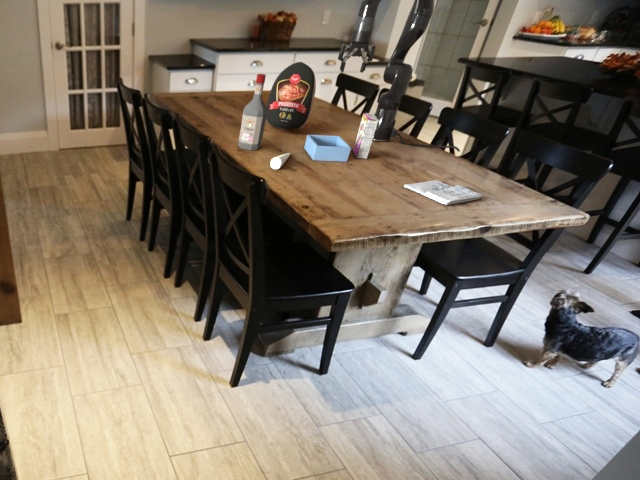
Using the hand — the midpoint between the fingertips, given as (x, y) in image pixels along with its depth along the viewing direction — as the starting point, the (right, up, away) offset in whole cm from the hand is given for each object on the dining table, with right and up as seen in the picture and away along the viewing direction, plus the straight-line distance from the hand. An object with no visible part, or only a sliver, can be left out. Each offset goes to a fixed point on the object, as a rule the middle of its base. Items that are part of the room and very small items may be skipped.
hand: (351, 72), depth 219 cm
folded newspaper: (+20, -64, -32) cm, 74 cm away
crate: (-11, -36, +3) cm, 38 cm away
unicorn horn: (-34, -43, -7) cm, 55 cm away
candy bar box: (+5, -36, +4) cm, 36 cm away
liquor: (-43, -30, +9) cm, 54 cm away
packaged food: (-18, -10, +36) cm, 41 cm away
